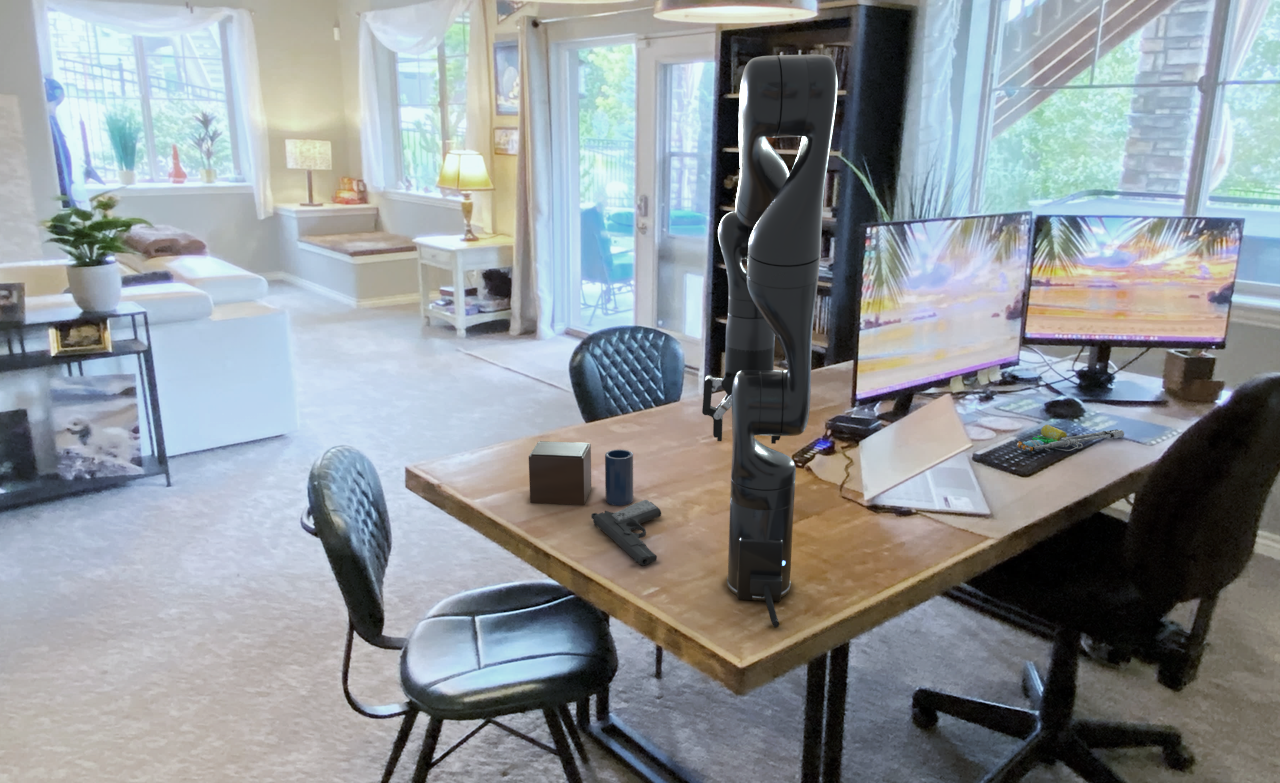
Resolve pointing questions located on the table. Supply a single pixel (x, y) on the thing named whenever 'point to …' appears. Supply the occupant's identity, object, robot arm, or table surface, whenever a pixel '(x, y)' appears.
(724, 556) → the table surface
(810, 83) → the robot arm
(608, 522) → the handgun
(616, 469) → the pen cup
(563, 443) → the dark brown box
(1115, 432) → the flamethrower
